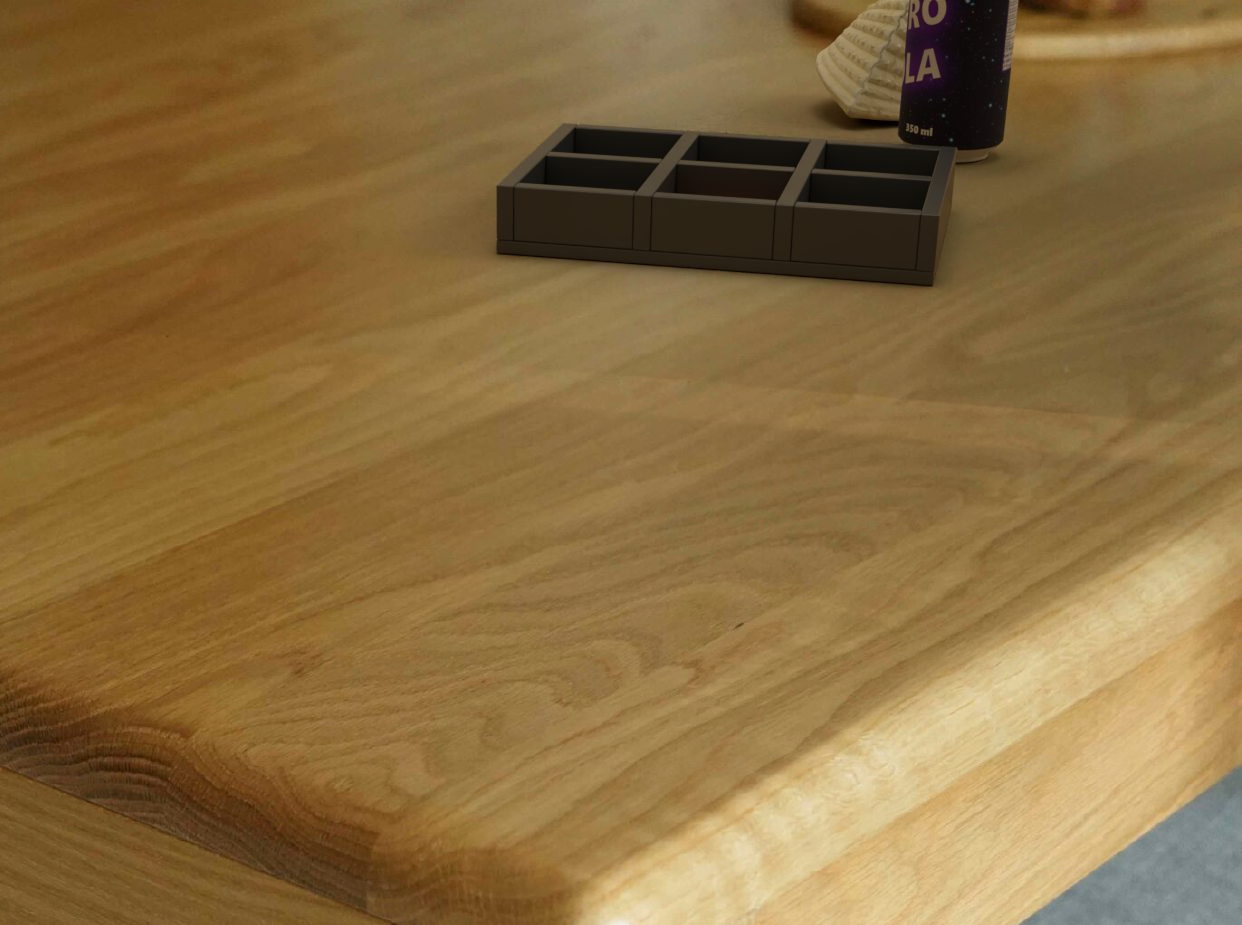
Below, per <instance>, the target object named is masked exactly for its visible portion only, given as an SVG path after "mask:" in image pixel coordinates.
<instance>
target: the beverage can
mask: <svg viewBox="0 0 1242 925" xmlns="http://www.w3.org/2000/svg"><path fill="white" fill-rule="evenodd" d="M1018 9H1019V0H909V8H908V19H907V31H906V43H905V55H904V67H903V78H902V90H901V102H900V114H899V121H898V127H897V137H899V139H900V140H901V141H902V142H903V144H909V145H926V146H939V147H940V148H941V147H942V146H943V147H956V148H957V155H956V163H970V162H971V163H972V162H978V161H982V160H985V159H987V158H988V156H989V153H991V152H992V151H993V150H994V149H996V148H997V147H998V146H999V145H1000V144H1001V143H1002V142H1003V141H1004V138H1005V130H1006V120H1007V110H1008V100H1009V92H1010V84H1011V75H1012V74H1011V73H1012V64H1013V55H1014V54H1013V53H1014V46H1015V38H1016V37H1015V36H1016V27H1017V20H1018V11H1019V10H1018Z"/></svg>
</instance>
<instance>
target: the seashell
mask: <svg viewBox="0 0 1242 925" xmlns="http://www.w3.org/2000/svg"><path fill="white" fill-rule="evenodd" d="M908 8H909V0H877V1H876V2H875V3H871V4H869V5H868V6H867V7H866V10H865V11H863V12H862V13H860V14H858V16H857V18H856V19H855V20H853V21H852V22H851V23H850V24H849V26H847V27H846V28H845V29H843V31H842V32H841V34H840V35H838V36H837V37H836V39H835V40H834V41H833V42H831V43H830V45H828V46H827V47H825V48H824V49H822V50H821V51H820V52H819V53H818V54H817V56H816V60H815V67H816V72H817V75H818V78H819V79H820V82H821V84H822V85H823V86H824V88H825V90H826V91H827V92H828V93H829V95H830V96H831V98H832V99H833V100H834V102H836V104H838V106H839V108H841V110H842V111H843V112H844V113H845V115H846V116H848V117H849V118H850V119H863V120H865V119H866V120H876V121H891V122H899V114H900V102H901V90H902V78H903V67H904V55H905V43H906V31H907V19H908Z"/></svg>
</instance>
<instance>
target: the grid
mask: <svg viewBox="0 0 1242 925" xmlns="http://www.w3.org/2000/svg"><path fill="white" fill-rule="evenodd" d="M956 155H957V148H956V147H943V146H942V147H941V148H940V147H939V146H926V145H909V144H905V143H893V142H891V143H890V142H876V141H874V142H873V141H858V140H846V139H845V140H842V139H827V138H810V137H796V136H795V137H794V136H778V135H762V134H747V133H746V134H745V133H733V132H732V133H730V132H715V131H698V130H683V129H680V130H679V129H666V128H665V129H663V128H647V127H632V126H616V125H614V126H613V125H600V124H583V123H579V124H577V123H570V122H563V123H561V124H560V125H559V126H558V127H557V128H556V129H555V130H554V131H553V132H552V133H551V134H550V135H549V136H548V137H547V138H545V139H544V140H543V141H542V142H541V143H540V144H539V145H538V146H537V147H536V148H535V149H534V150H533V151H531V153H530V154H528V155H527V157H525V158H524V160H522V161H520V163H519V164H518V165H517V166H516V167H514V168H513V169H512V170H511V171H510V172H509V173H508V174H507V175H506V176H505V177H504V178H503V179H502V180H501V181H500V182H499V183H498V184H497V185H496V187H495V188H496V192H495V194H496V196H495V198H496V202H495V204H496V241H495V242H496V245H495V246H496V248H495V249H496V253H497V254H506V255H520V256H532V257H533V256H534V257H548V258H560V259H573V260H585V261H588V260H589V261H598V262H600V261H601V262H613V263H614V262H615V263H627V264H640V265H653V266H667V267H679V268H693V269H707V270H722V271H733V272H734V271H735V272H747V273H749V272H750V273H761V274H774V275H786V276H787V275H789V276H799V277H813V278H826V279H827V278H828V279H840V280H842V279H843V280H854V281H867V282H879V283H880V282H883V283H895V284H907V285H921V286H934V282H935V278H936V275H937V270H938V265H939V261H940V257H941V254H942V249H943V245H944V241H945V237H946V233H947V229H948V224H949V220H950V215H951V212H952V207H953V206H952V205H953V195H954V184H955V175H956V163H957V162H956Z"/></svg>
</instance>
